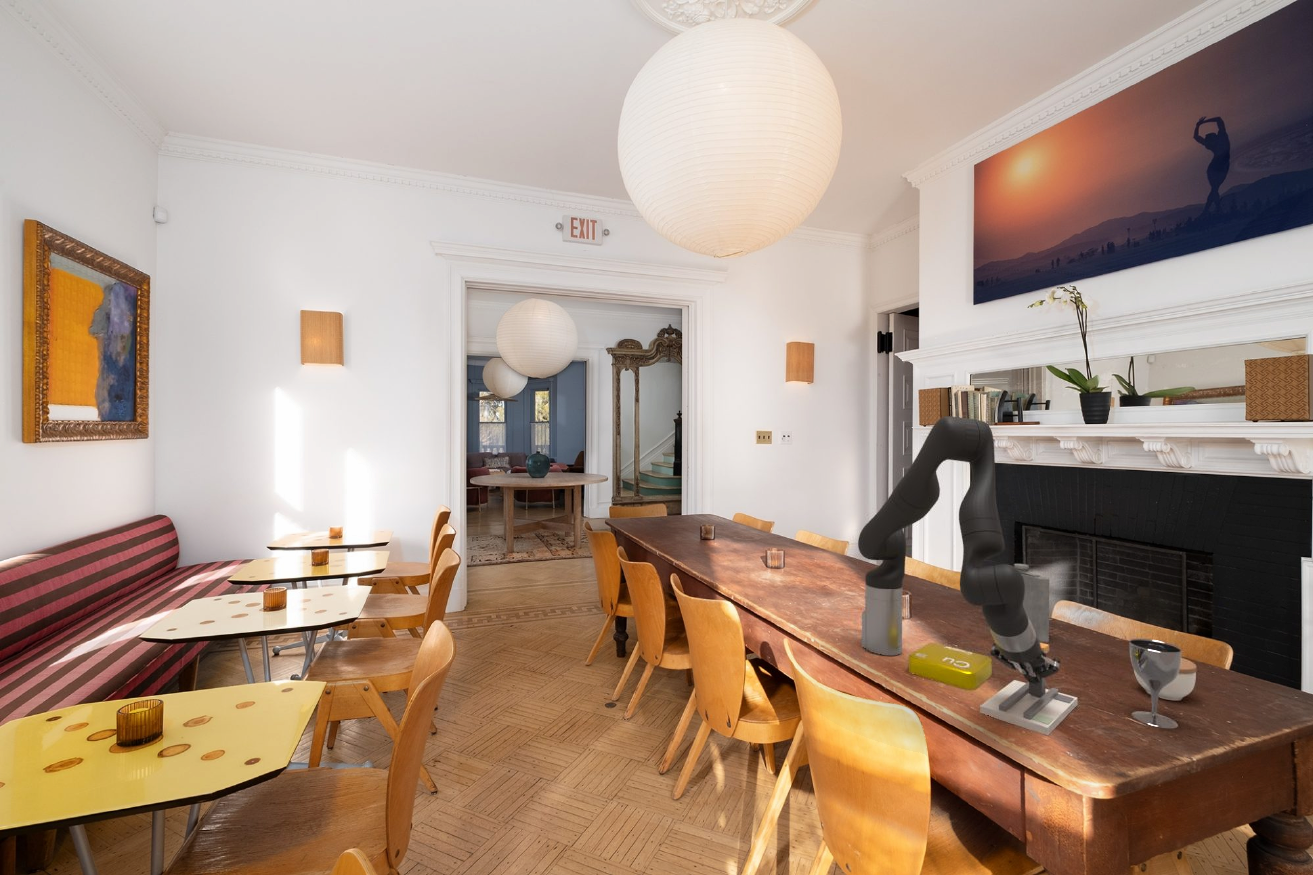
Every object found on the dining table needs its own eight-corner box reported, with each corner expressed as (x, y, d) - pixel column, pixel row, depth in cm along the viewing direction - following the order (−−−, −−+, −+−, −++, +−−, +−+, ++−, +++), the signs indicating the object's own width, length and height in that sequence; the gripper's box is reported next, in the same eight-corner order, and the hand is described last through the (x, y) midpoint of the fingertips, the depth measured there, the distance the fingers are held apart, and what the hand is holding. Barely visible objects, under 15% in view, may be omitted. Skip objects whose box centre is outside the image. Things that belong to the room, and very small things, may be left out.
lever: (1025, 693, 126) (1025, 643, 126) (1030, 688, 128) (1031, 640, 128) (1043, 698, 123) (1044, 648, 123) (1048, 694, 125) (1049, 644, 125)
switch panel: (980, 713, 120) (980, 700, 120) (1014, 686, 133) (1014, 675, 133) (1047, 735, 111) (1047, 722, 111) (1077, 704, 124) (1077, 693, 124)
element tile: (994, 675, 141) (994, 655, 141) (972, 693, 131) (973, 672, 131) (929, 658, 152) (929, 639, 152) (905, 673, 141) (905, 654, 141)
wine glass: (1118, 711, 122) (1119, 638, 122) (1154, 709, 122) (1154, 638, 122) (1154, 730, 114) (1155, 652, 114) (1192, 728, 114) (1192, 652, 114)
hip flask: (990, 626, 177) (990, 559, 177) (998, 624, 179) (999, 558, 179) (1044, 642, 163) (1044, 570, 163) (1053, 640, 164) (1053, 569, 164)
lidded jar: (1120, 683, 135) (1120, 643, 135) (1168, 684, 135) (1168, 644, 135) (1158, 704, 125) (1159, 660, 125) (1210, 705, 124) (1210, 661, 124)
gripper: (1056, 626, 113) (1074, 673, 121) (983, 610, 123) (1004, 655, 131) (1047, 660, 110) (1066, 706, 118) (972, 641, 120) (995, 685, 128)
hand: (1033, 679), depth 124 cm, fingers closed
